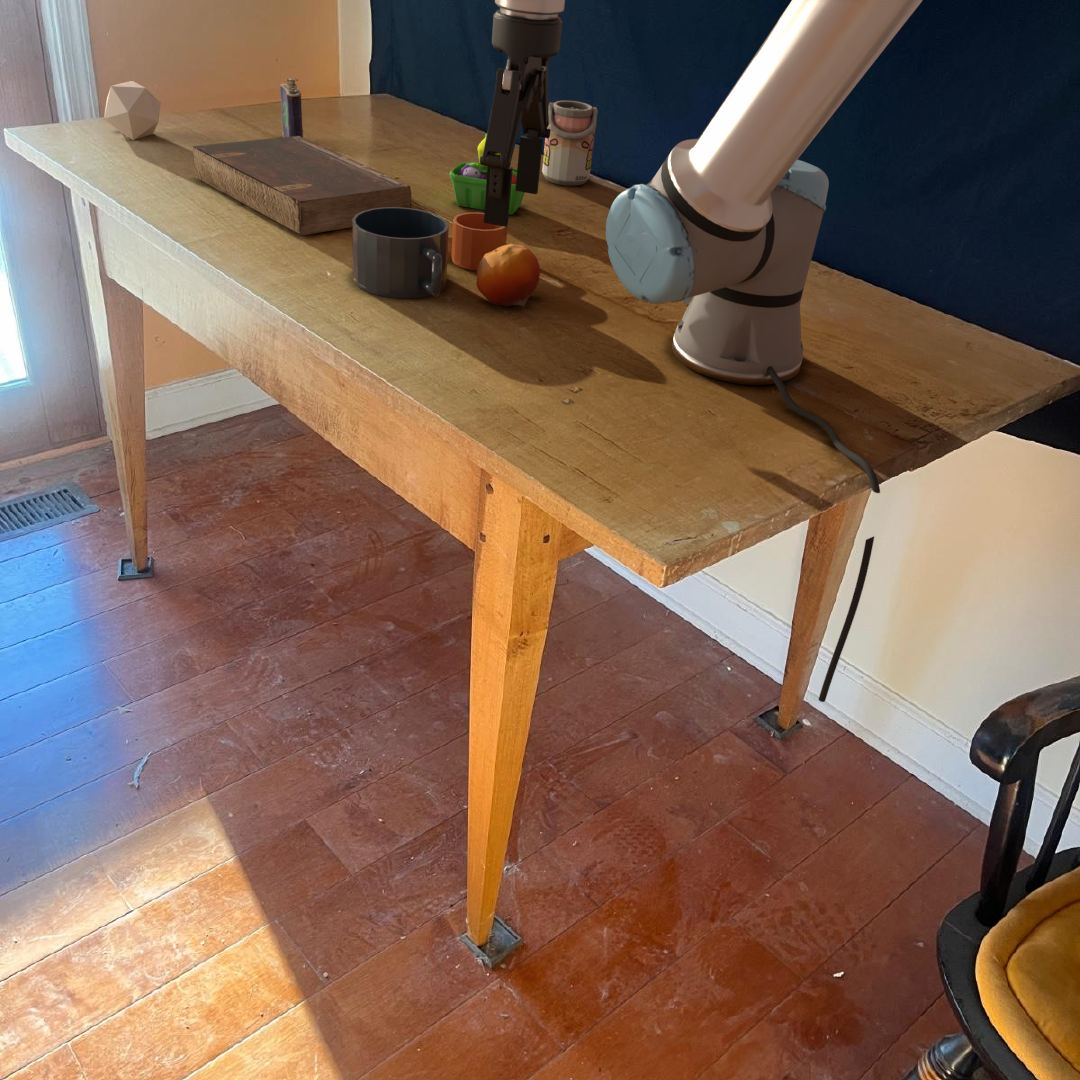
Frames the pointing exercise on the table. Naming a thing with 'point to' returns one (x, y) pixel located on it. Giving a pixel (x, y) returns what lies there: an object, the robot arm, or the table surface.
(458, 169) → the fruit basket
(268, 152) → the hardback book
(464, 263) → the small cup
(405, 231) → the big cup
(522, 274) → the fruit
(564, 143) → the white patterned canister
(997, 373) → the table surface
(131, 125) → the die
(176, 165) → the table surface
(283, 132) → the flask
